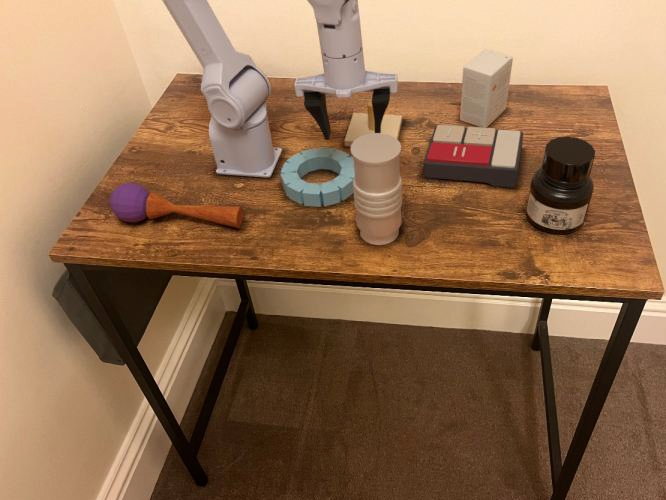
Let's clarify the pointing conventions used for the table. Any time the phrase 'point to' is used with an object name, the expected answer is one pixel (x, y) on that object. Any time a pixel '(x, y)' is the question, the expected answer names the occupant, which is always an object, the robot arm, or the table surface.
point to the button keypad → (474, 155)
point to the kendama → (166, 207)
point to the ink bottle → (562, 186)
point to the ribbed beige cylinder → (377, 187)
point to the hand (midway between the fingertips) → (352, 135)
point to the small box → (485, 88)
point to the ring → (312, 191)
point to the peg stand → (371, 125)
